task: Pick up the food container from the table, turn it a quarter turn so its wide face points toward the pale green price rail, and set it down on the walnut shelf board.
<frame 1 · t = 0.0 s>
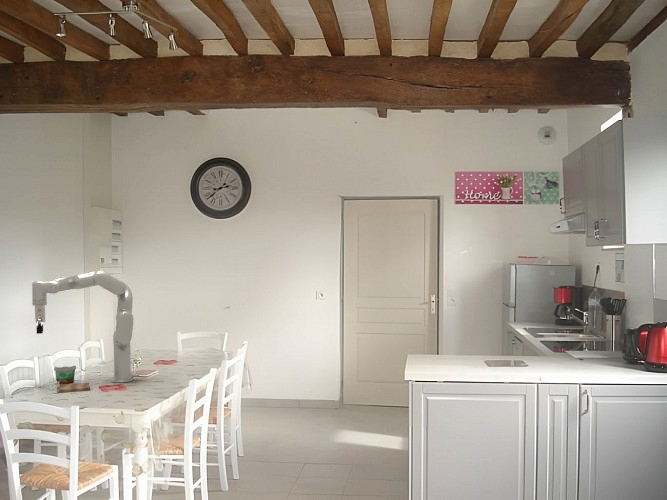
hand: (39, 332, 400), 31 cm above the table, tool pointing down, fingers open, 9 cm apart
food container: (64, 384, 409), on the table
shelf board: (74, 388, 394), on the table
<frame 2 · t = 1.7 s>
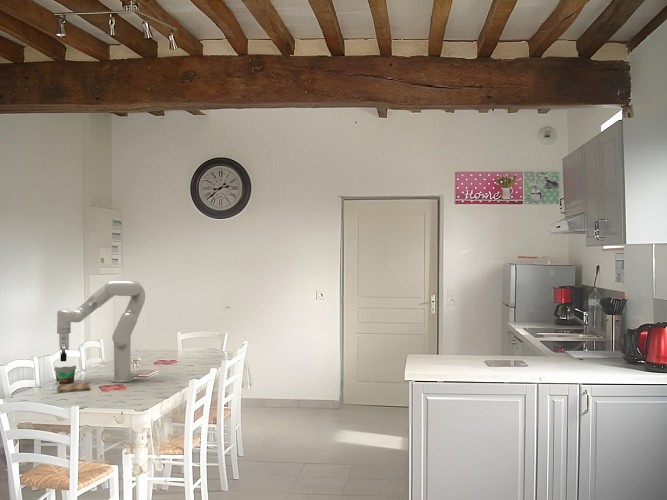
hand: (63, 360, 409), 14 cm above the table, tool pointing down, fingers open, 9 cm apart
nothing on the table moved.
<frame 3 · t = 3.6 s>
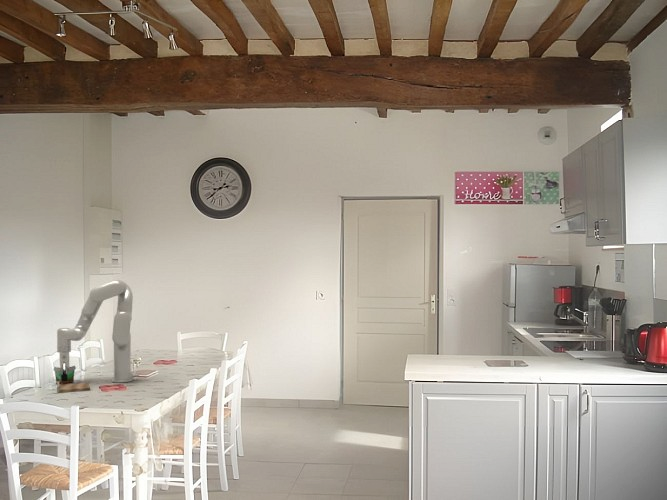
hand: (64, 379, 409), 2 cm above the table, tool pointing down, fingers closed on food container, 5 cm apart
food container: (64, 384, 409), on the table, touching gripper
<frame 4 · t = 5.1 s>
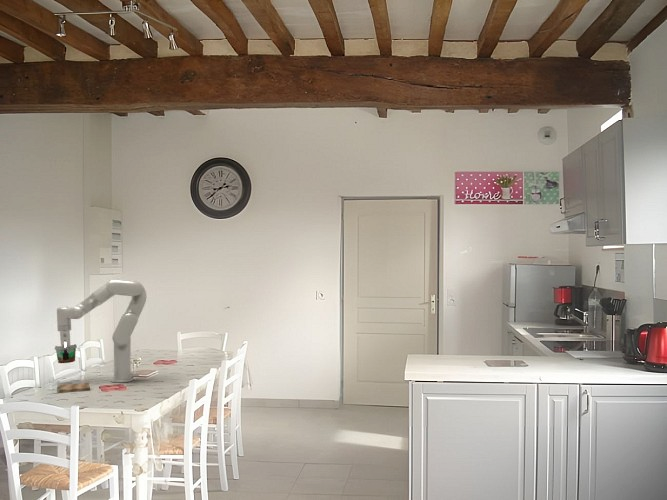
hand: (65, 358, 409), 15 cm above the table, tool pointing down, fingers closed on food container, 5 cm apart
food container: (66, 362, 409), point 12 cm above the table, touching gripper
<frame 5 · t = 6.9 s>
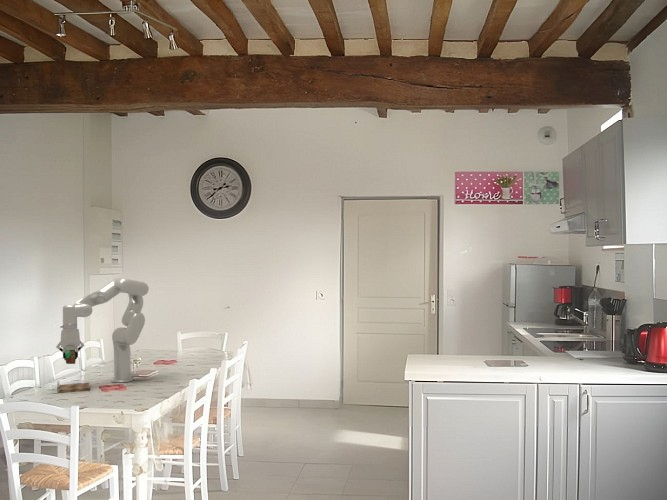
hand: (70, 358, 393), 17 cm above the table, tool pointing down, fingers closed on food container, 5 cm apart
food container: (69, 363, 392), point 15 cm above the table, touching gripper
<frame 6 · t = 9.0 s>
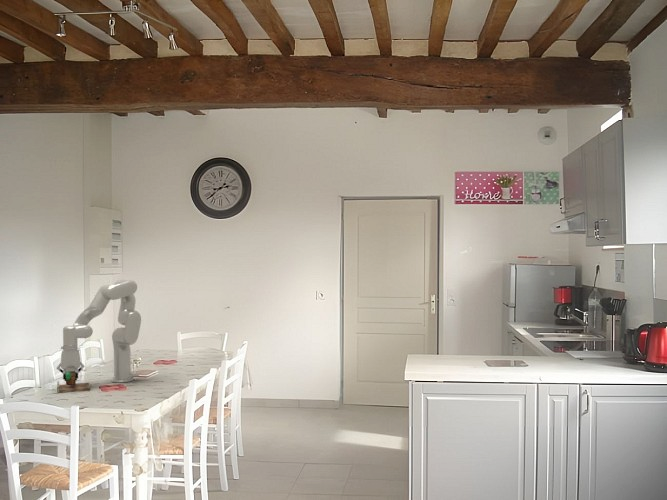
hand: (70, 380, 393), 5 cm above the table, tool pointing down, fingers closed on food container, 5 cm apart
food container: (69, 384, 392), point 3 cm above the table, touching gripper
when the fingers open (5 cm above the table, at t = 9.9 s): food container drops 1 cm, resting on shelf board.
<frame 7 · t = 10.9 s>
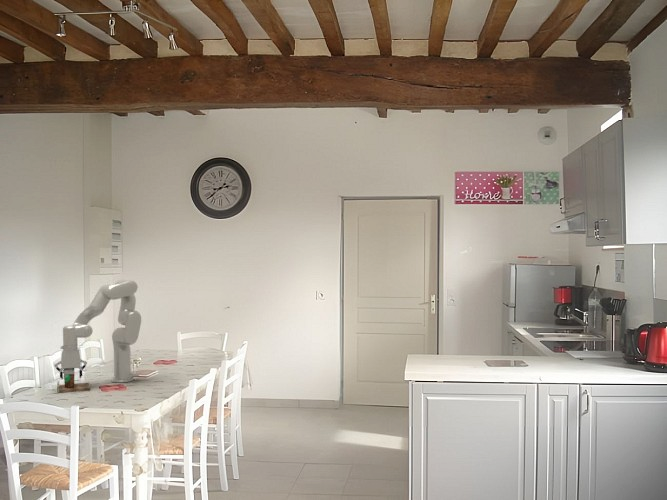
hand: (71, 378, 393), 6 cm above the table, tool pointing down, fingers open, 9 cm apart
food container: (68, 387, 392), point 1 cm above the table, touching gripper, shelf board
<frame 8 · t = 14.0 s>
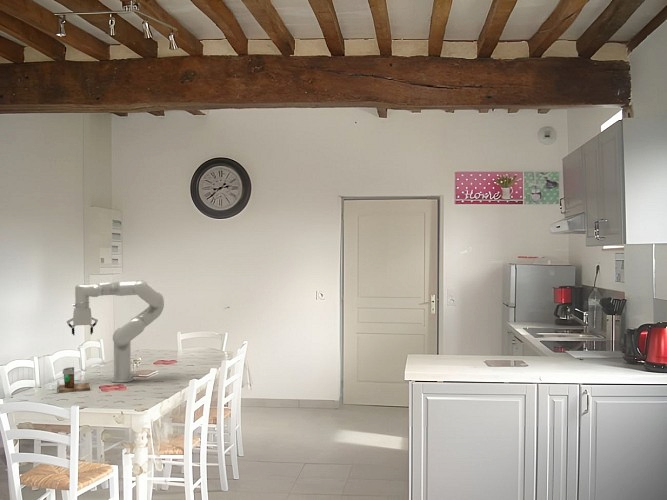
hand: (82, 334, 411), 28 cm above the table, tool pointing down, fingers open, 9 cm apart
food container: (68, 387, 392), point 1 cm above the table, touching shelf board
at the end: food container inside the target area on the shelf board (2.0 cm from its centre), point 1.3 cm above the shelf board's base; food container tilted 0°; the gripper is holding nothing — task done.
